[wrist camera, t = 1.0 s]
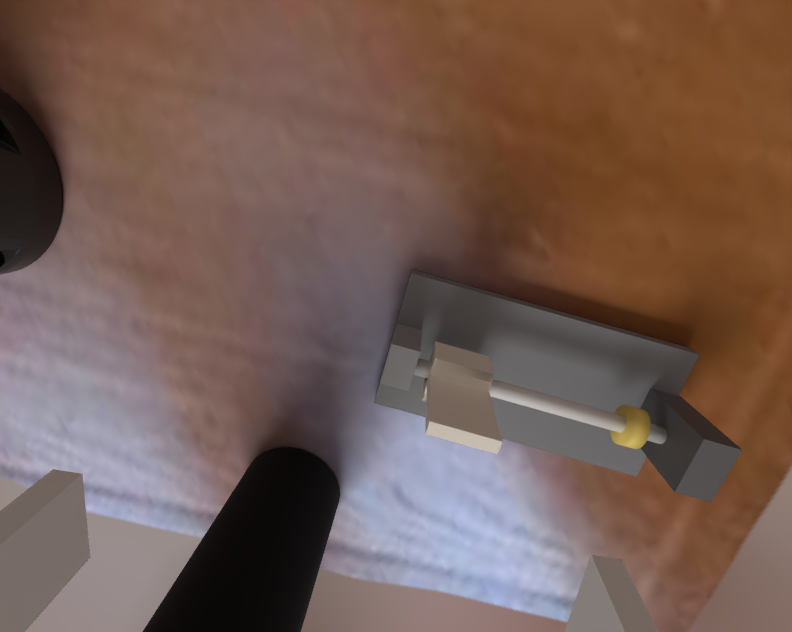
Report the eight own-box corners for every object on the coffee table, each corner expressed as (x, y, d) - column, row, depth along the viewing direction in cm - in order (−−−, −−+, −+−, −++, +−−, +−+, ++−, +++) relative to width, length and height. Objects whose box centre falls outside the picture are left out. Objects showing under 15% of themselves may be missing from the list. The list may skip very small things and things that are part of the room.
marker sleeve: (422, 380, 33) (419, 452, 24) (435, 341, 32) (436, 401, 23) (474, 395, 33) (490, 472, 24) (488, 356, 32) (510, 422, 23)
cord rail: (376, 394, 37) (360, 452, 29) (411, 269, 34) (405, 296, 26) (630, 465, 37) (686, 544, 29) (690, 348, 34) (771, 400, 26)
